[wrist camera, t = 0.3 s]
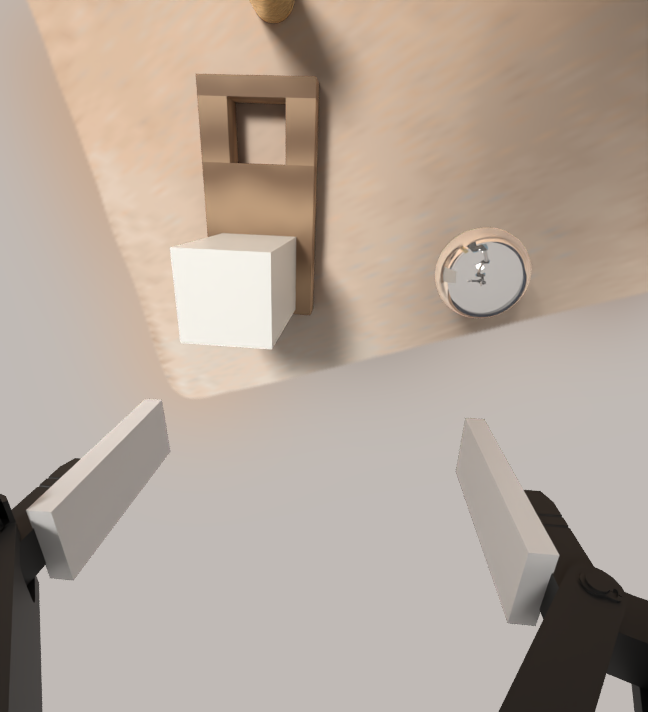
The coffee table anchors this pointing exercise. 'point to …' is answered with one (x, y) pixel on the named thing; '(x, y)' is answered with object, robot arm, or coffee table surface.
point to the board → (262, 167)
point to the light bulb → (482, 272)
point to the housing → (234, 289)
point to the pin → (273, 9)
